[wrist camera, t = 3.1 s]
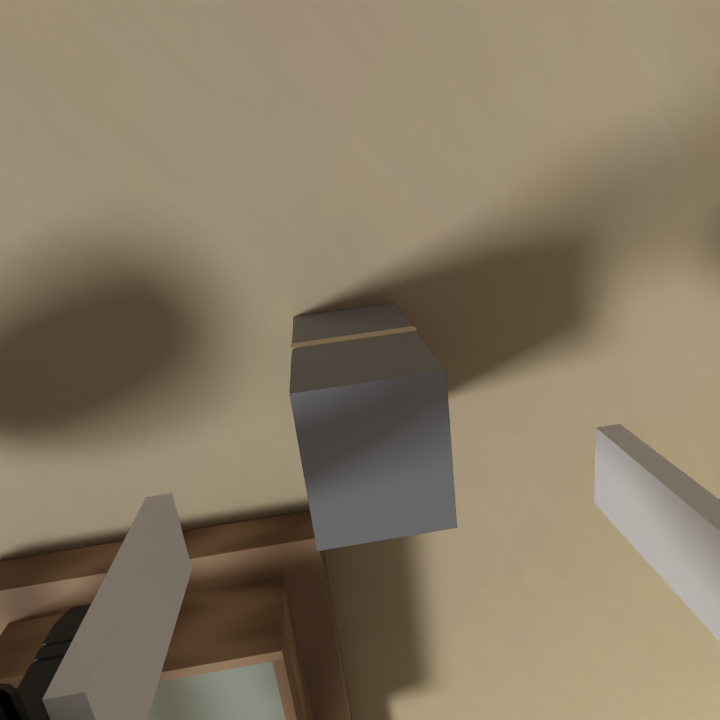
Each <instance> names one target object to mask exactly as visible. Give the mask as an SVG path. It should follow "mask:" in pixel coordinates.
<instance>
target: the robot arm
mask: <svg viewBox="0 0 720 720" xmlns="http://www.w3.org/2000/svg"><path fill="white" fill-rule="evenodd" d="M594 504H595V505H596V506H597V507H598V508H599V509H600V510H601V511H602V512H603V513H604V515H605V516H606V517H607V518H608V519H609V520H610V521H611V522H612V523H613V525H614V526H615V527H616V528H617V529H618V530H619V531H620V532H621V533H622V534H623V536H624V537H625V538H626V539H627V540H628V541H629V542H630V543H631V544H632V545H633V547H634V548H635V549H636V550H637V551H638V552H639V553H640V554H641V555H642V556H643V558H644V559H645V560H646V561H647V562H648V563H649V564H650V565H651V566H652V568H653V569H654V570H655V571H656V572H657V573H658V574H659V575H660V576H661V577H662V579H663V580H664V581H665V582H666V583H667V584H668V585H669V586H670V587H671V588H672V590H673V591H674V592H675V593H676V594H677V595H678V596H679V597H680V598H681V600H682V601H683V602H684V603H685V604H686V605H687V606H688V607H689V608H690V609H691V611H692V612H693V613H694V614H695V615H696V616H697V617H698V618H699V619H700V620H701V622H702V623H703V624H704V625H705V626H706V627H707V628H708V629H709V630H710V631H711V633H712V634H713V635H714V636H715V637H716V638H717V639H718V640H719V641H720V499H718V498H716V497H715V496H714V495H713V494H711V493H710V492H709V491H707V490H706V489H705V488H703V487H702V486H701V485H699V484H698V483H697V482H695V481H694V480H693V479H691V478H690V477H689V476H688V475H686V474H685V473H684V472H682V471H681V470H680V469H678V468H677V467H676V466H674V465H673V464H672V463H670V462H669V461H668V460H666V459H665V458H664V457H663V456H661V455H660V454H659V453H657V452H656V451H655V450H653V449H652V448H651V447H649V446H648V445H647V444H645V443H644V442H643V441H641V440H640V439H639V438H638V437H636V436H635V435H634V434H632V433H631V432H630V431H628V430H627V429H626V428H624V427H623V426H622V425H620V424H617V425H610V426H604V427H597V428H596V454H595V497H594ZM191 571H192V567H191V563H190V559H189V555H188V552H187V548H186V544H185V540H184V537H183V533H182V529H181V525H180V522H179V518H178V514H177V511H176V507H175V503H174V499H173V496H172V493H171V494H165V495H158V496H152V497H146V498H145V500H144V502H143V504H142V506H141V508H140V510H139V512H138V514H137V516H136V518H135V520H134V522H133V524H132V526H131V528H130V530H129V532H128V533H127V535H126V537H125V539H124V541H123V543H122V545H121V547H120V549H119V551H118V553H117V555H116V557H115V559H114V561H113V563H112V565H111V567H110V569H109V570H108V572H107V574H106V576H105V578H104V580H103V582H102V584H101V586H100V588H99V590H98V592H97V594H96V596H95V598H94V600H93V602H92V604H88V605H82V606H76V607H71V608H70V609H69V610H68V611H67V612H66V613H65V614H64V615H63V616H62V617H61V618H60V619H59V620H58V621H57V622H56V623H55V624H54V625H53V626H52V628H51V630H50V632H49V633H48V635H47V637H46V639H45V640H44V642H43V644H42V648H40V649H39V651H38V653H37V654H36V656H35V658H34V659H33V664H31V665H30V666H29V668H28V670H27V672H26V673H25V675H24V677H23V679H22V680H21V682H20V684H19V686H18V687H17V689H16V688H15V687H13V686H12V685H11V684H3V683H0V720H147V719H148V715H149V712H150V709H151V705H152V702H153V698H154V695H155V692H156V688H157V685H158V682H159V678H160V675H161V672H162V668H163V665H164V661H165V658H166V655H167V651H168V648H169V645H170V641H171V638H172V635H173V631H174V628H175V625H176V621H177V618H178V614H179V611H180V608H181V604H182V601H183V598H184V594H185V591H186V588H187V584H188V581H189V578H190V574H191Z"/></svg>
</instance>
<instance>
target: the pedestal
mask: <svg viewBox="0 0 720 720" xmlns="http://www.w3.org/2000/svg"><path fill="white" fill-rule="evenodd" d="M182 533H183V537H184V540H185V544H186V548H187V552H188V555H189V559H190V563H191V567H192V571H191V574H190V578H189V581H188V584H187V588H186V591H185V594H184V598H183V601H182V604H181V608H180V611H179V614H178V618H177V621H176V625H175V628H174V631H173V635H172V638H171V641H170V645H169V648H168V651H167V655H166V658H165V661H164V665H163V668H162V672H161V675H160V678H159V682H158V685H157V688H156V692H155V695H154V698H153V702H152V705H151V709H150V712H149V715H148V719H147V720H352V717H351V711H350V705H349V699H348V693H347V687H346V682H345V676H344V670H343V664H342V658H341V652H340V647H339V641H338V635H337V629H336V623H335V617H334V612H333V606H332V600H331V594H330V588H329V582H328V576H327V571H326V565H325V559H324V553H323V550H322V551H317V547H316V541H315V535H314V530H313V524H312V518H311V513H310V510H309V511H303V512H297V513H291V514H285V515H279V516H273V517H267V518H260V519H254V520H248V521H242V522H236V523H230V524H224V525H218V526H211V527H205V528H199V529H193V530H187V531H182ZM122 543H123V541H120V542H114V543H107V544H101V545H95V546H89V547H83V548H77V549H71V550H65V551H59V552H52V553H46V554H40V555H34V556H28V557H22V558H16V559H10V560H4V561H0V683H3V684H11V685H12V686H13V687H15V688H16V689H17V687H18V686H19V684H20V682H21V680H22V679H23V677H24V675H25V673H26V672H27V670H28V668H29V666H30V665H31V664H33V659H34V658H35V656H36V654H37V653H38V651H39V649H40V648H42V644H43V642H44V640H45V639H46V637H47V635H48V633H49V632H50V630H51V628H52V626H53V625H54V624H55V623H56V622H57V621H58V620H59V619H60V618H61V617H62V616H63V615H64V614H65V613H66V612H67V611H68V610H69V609H70V608H71V607H76V606H82V605H88V604H92V602H93V600H94V598H95V596H96V594H97V592H98V590H99V588H100V586H101V584H102V582H103V580H104V578H105V576H106V574H107V572H108V570H109V569H110V567H111V565H112V563H113V561H114V559H115V557H116V555H117V553H118V551H119V549H120V547H121V545H122Z"/></svg>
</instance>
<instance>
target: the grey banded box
mask: <svg viewBox="0 0 720 720" xmlns="http://www.w3.org/2000/svg"><path fill="white" fill-rule="evenodd" d="M290 348H291V354H292V357H291V377H290V399H291V404H292V410H293V416H294V421H295V427H296V433H297V439H298V444H299V450H300V456H301V461H302V467H303V473H304V478H305V484H306V490H307V495H308V501H309V507H310V513H311V518H312V524H313V530H314V535H315V541H316V547H317V551H322V550H328V549H334V548H340V547H346V546H351V545H357V544H363V543H369V542H375V541H381V540H387V539H393V538H399V537H405V536H411V535H417V534H423V533H429V532H435V531H441V530H446V529H452V528H457V520H456V506H455V491H454V477H453V463H452V449H451V434H450V420H449V406H448V391H447V377H446V370H445V368H444V367H443V366H442V364H441V363H440V362H439V361H438V359H437V358H436V357H435V355H434V354H433V353H432V351H431V350H430V349H429V347H428V346H427V345H426V344H425V342H424V341H423V340H422V338H421V337H420V336H419V334H418V333H417V329H416V328H415V326H412V325H411V324H410V323H409V321H408V320H407V319H406V317H405V316H404V315H403V313H402V312H401V311H400V309H399V308H398V307H397V305H396V304H395V303H387V304H380V305H373V306H366V307H359V308H352V309H345V310H338V311H331V312H324V313H316V314H309V315H302V316H295V317H293V337H292V344H291V347H290Z"/></svg>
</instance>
